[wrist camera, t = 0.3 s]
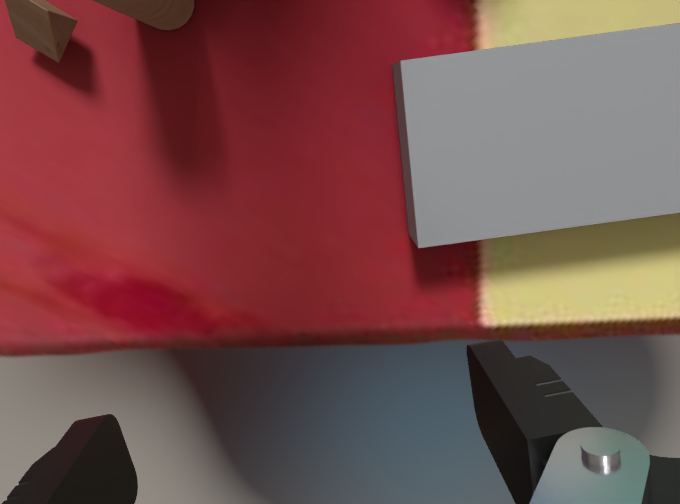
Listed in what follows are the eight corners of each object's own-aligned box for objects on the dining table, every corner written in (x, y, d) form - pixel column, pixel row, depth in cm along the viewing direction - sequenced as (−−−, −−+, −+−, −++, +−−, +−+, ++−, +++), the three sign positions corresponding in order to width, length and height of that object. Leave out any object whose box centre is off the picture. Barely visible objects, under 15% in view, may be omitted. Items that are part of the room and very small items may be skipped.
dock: (392, 65, 37) (400, 60, 33) (768, 14, 37) (820, 3, 34) (408, 234, 41) (418, 248, 37) (755, 187, 41) (801, 196, 37)
